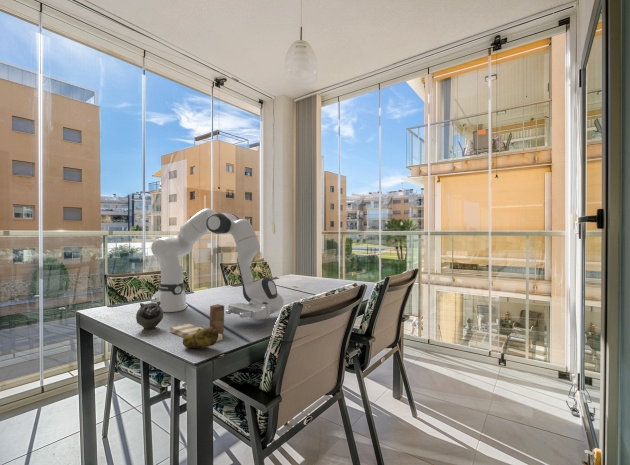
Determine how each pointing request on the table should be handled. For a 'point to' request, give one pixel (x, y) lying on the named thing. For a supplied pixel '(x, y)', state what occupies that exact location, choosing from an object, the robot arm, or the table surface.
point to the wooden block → (217, 318)
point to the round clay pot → (149, 316)
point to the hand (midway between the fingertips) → (233, 314)
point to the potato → (201, 338)
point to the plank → (188, 330)
